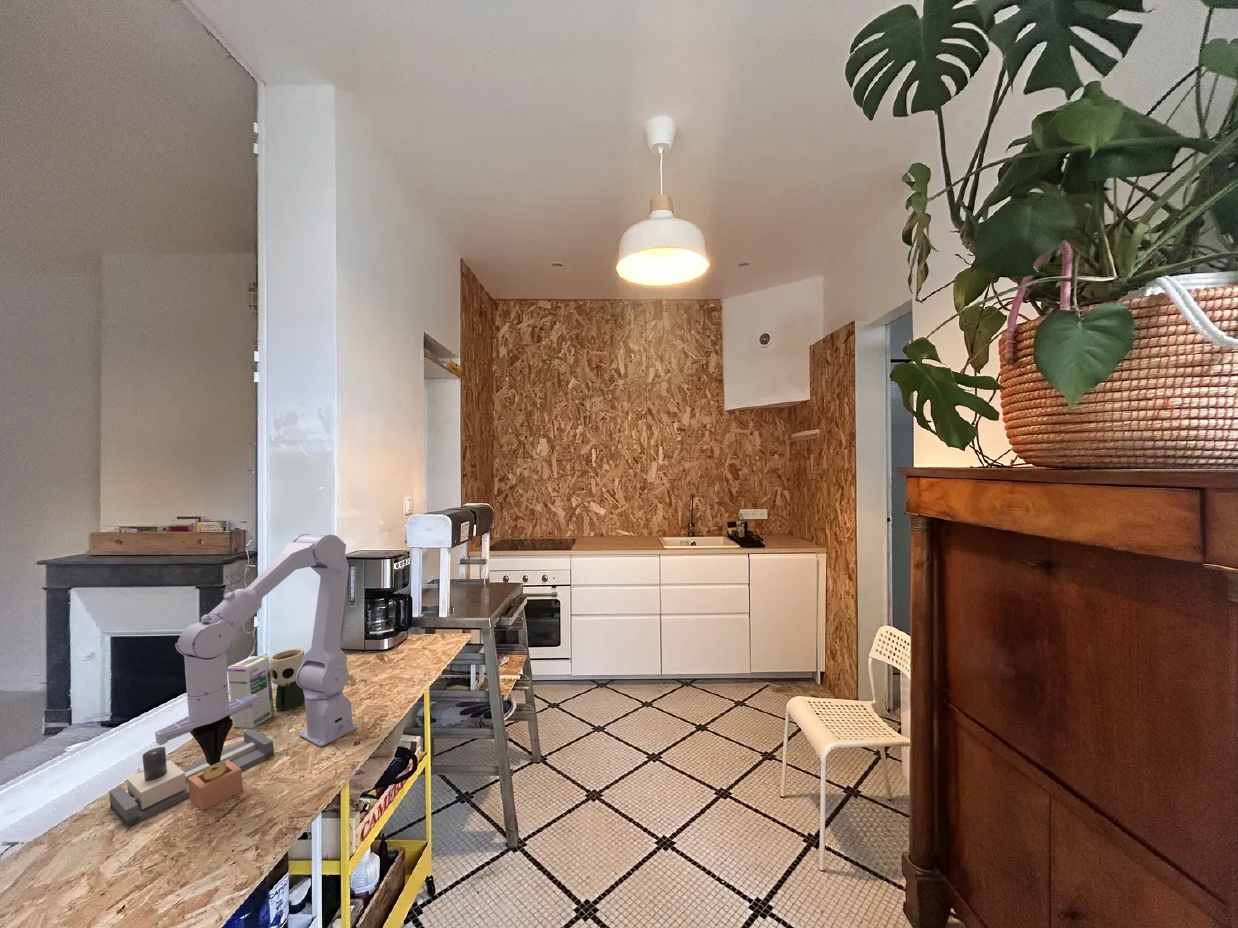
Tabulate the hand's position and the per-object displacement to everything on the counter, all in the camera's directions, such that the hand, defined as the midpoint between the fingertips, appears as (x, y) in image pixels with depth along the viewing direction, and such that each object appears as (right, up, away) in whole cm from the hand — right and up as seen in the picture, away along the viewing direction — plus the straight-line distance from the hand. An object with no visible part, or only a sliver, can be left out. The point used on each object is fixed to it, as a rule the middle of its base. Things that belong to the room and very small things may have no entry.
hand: (213, 761), depth 90 cm
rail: (-7, -6, +5) cm, 11 cm away
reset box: (0, -6, 0) cm, 6 cm away
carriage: (-10, -5, 0) cm, 12 cm away
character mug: (-8, -6, +32) cm, 34 cm away
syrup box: (-12, -6, +26) cm, 29 cm away
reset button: (0, -4, 0) cm, 4 cm away
